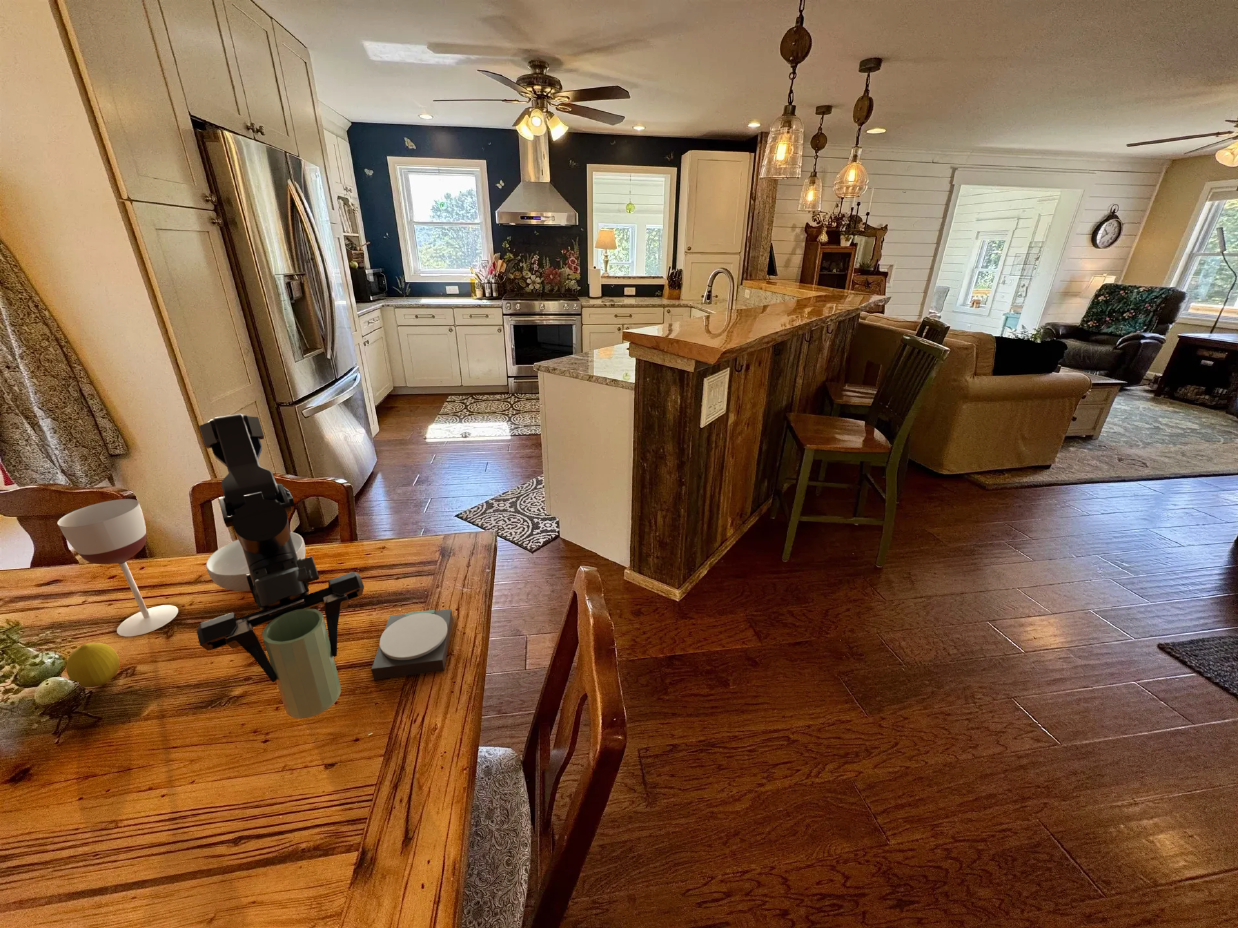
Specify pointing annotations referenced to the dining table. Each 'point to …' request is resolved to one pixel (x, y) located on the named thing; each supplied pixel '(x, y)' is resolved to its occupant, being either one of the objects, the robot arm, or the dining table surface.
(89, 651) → the lemon
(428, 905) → the dining table surface
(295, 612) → the tumbler
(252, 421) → the robot arm
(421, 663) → the scale
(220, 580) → the cereal bowl
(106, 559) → the wineglass
